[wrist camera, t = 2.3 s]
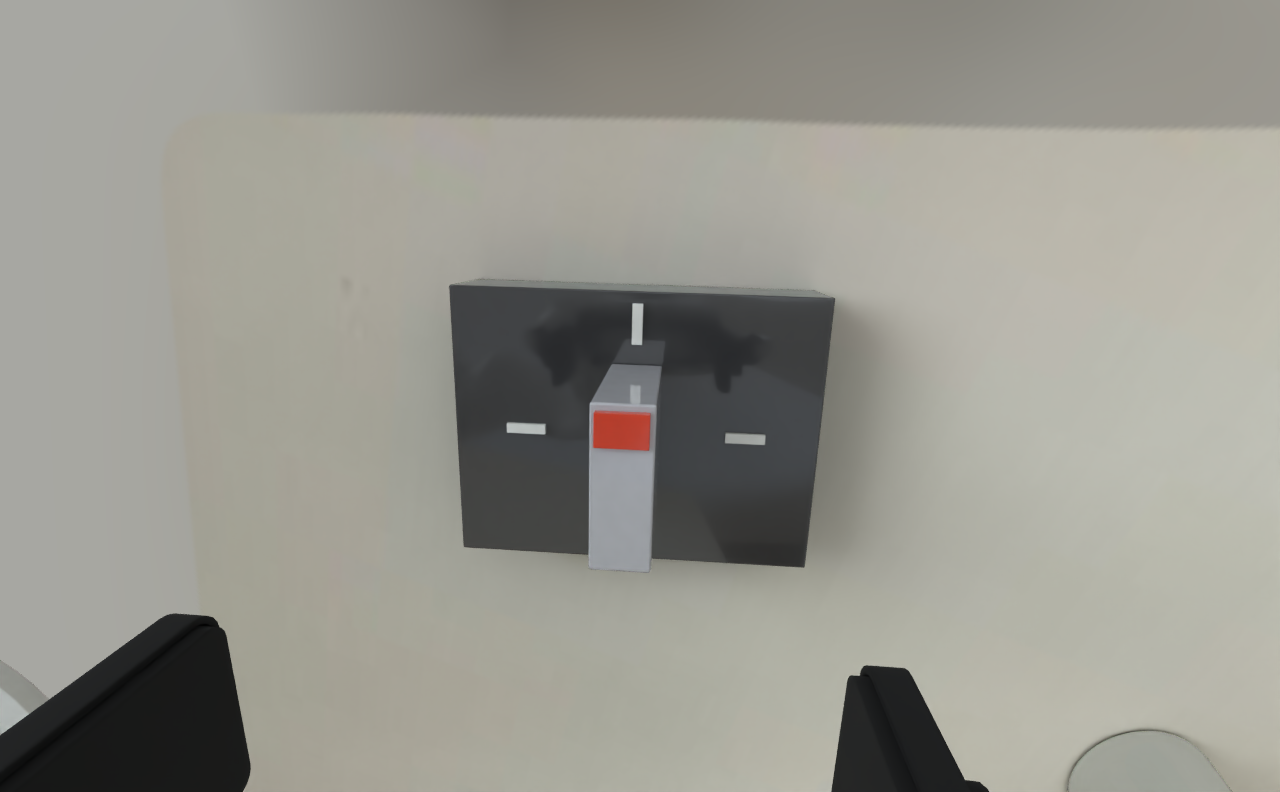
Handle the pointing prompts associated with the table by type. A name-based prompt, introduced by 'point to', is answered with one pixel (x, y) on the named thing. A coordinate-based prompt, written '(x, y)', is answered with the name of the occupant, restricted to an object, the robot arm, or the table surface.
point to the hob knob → (624, 468)
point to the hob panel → (689, 423)
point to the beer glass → (1146, 766)
